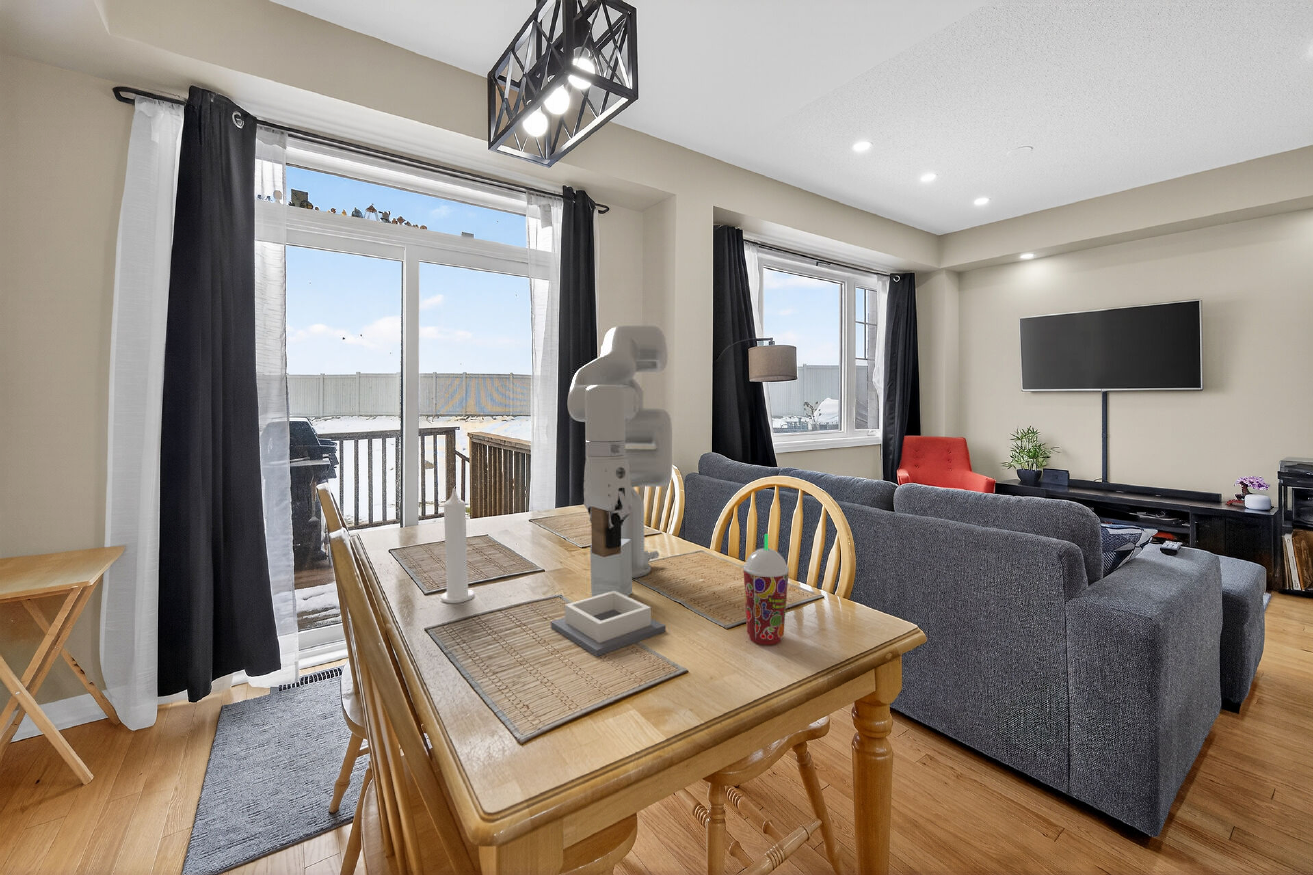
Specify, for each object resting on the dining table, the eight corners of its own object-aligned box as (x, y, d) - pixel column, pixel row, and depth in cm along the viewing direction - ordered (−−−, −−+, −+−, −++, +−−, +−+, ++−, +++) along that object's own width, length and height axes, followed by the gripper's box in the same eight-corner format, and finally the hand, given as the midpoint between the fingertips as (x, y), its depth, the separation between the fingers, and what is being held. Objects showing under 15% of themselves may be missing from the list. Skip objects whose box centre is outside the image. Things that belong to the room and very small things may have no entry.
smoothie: (778, 653, 100) (780, 542, 98) (735, 642, 104) (736, 536, 103) (794, 635, 107) (795, 532, 105) (752, 626, 111) (753, 526, 110)
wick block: (608, 549, 111) (608, 503, 111) (620, 553, 108) (620, 506, 108) (591, 552, 109) (591, 506, 108) (603, 557, 106) (603, 509, 105)
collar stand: (616, 607, 121) (616, 585, 121) (665, 631, 109) (665, 607, 109) (551, 627, 111) (550, 604, 111) (596, 656, 99) (596, 630, 99)
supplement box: (633, 592, 130) (632, 538, 129) (620, 604, 123) (620, 547, 122) (603, 588, 133) (603, 536, 132) (590, 600, 126) (589, 544, 125)
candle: (463, 604, 123) (459, 491, 121) (434, 602, 125) (430, 490, 123) (480, 593, 130) (476, 486, 128) (452, 590, 132) (448, 485, 130)
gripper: (648, 451, 103) (649, 550, 104) (597, 446, 116) (598, 534, 117) (615, 454, 98) (616, 557, 100) (565, 448, 111) (566, 539, 112)
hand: (606, 543), depth 108 cm, fingers closed on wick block, 4 cm apart
